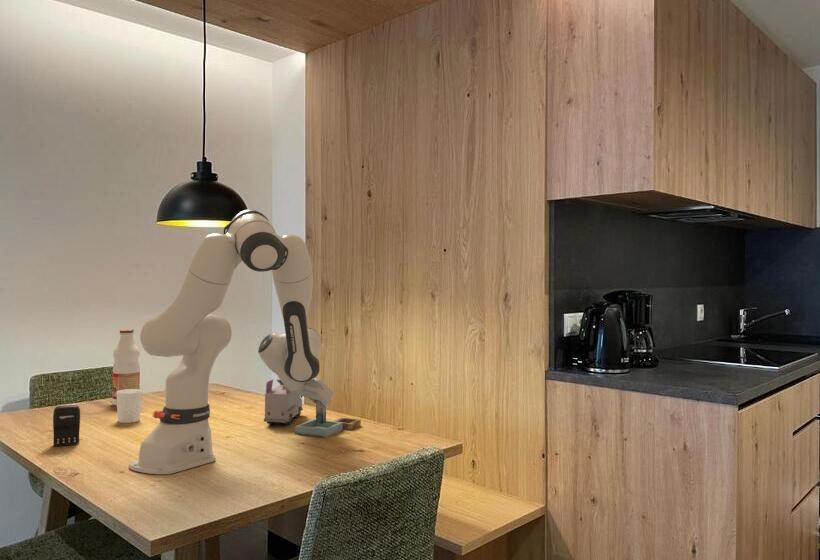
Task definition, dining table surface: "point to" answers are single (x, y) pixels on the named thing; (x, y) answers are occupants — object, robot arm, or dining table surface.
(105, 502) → the dining table surface
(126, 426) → the dining table surface
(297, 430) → the tray
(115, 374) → the fruit juice
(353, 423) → the collar
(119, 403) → the white cup
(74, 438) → the battery charger
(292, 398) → the toy vehicle
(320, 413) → the pin
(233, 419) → the dining table surface
